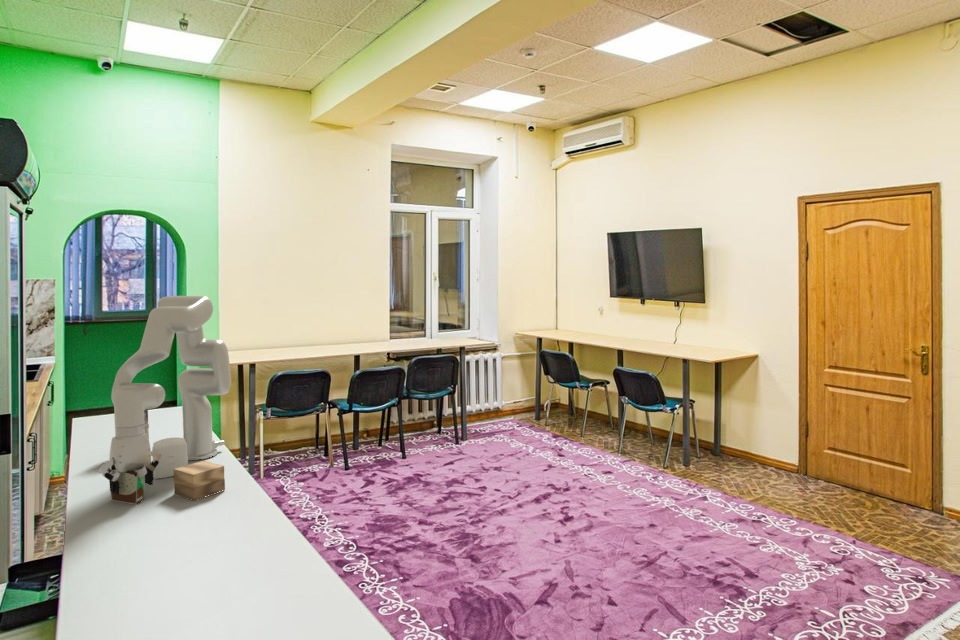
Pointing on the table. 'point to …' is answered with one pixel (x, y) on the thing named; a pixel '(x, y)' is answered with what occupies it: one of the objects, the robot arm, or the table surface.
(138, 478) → the food container
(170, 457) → the photo printer
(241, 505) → the table surface
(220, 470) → the oak slab
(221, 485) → the tan cardboard flat block
